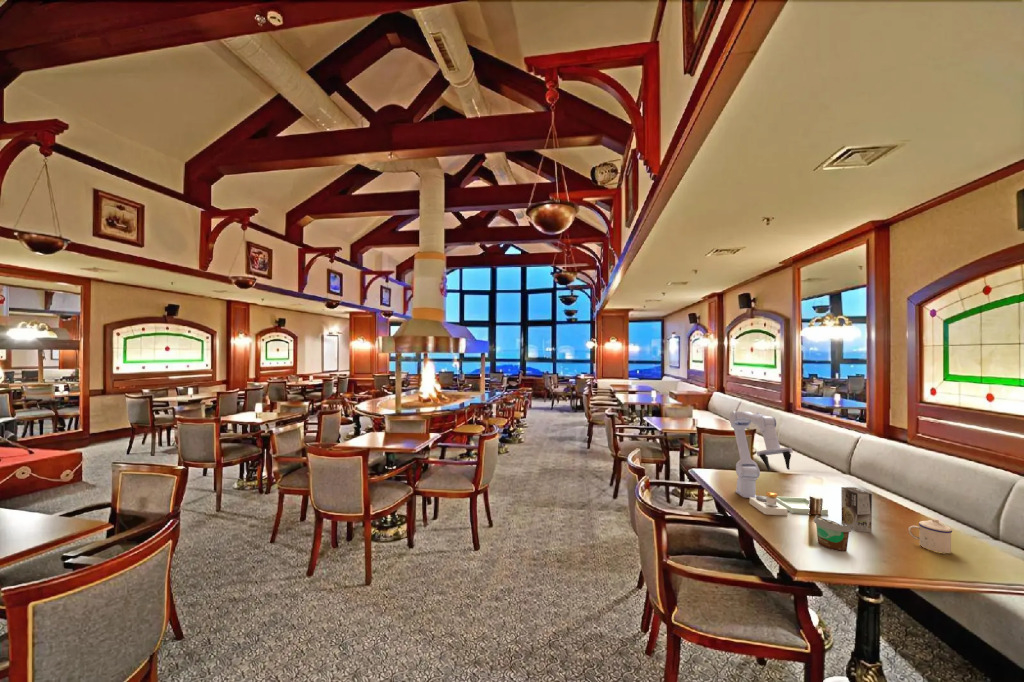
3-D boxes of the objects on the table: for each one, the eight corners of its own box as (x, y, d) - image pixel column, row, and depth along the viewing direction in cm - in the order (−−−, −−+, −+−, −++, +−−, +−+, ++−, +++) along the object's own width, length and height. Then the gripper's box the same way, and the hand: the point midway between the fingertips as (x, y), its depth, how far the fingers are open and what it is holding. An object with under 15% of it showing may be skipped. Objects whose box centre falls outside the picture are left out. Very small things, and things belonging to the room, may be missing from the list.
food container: (806, 541, 165) (806, 515, 165) (816, 538, 167) (816, 513, 167) (840, 555, 153) (840, 528, 154) (851, 553, 156) (851, 526, 156)
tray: (772, 501, 210) (772, 496, 210) (805, 502, 209) (805, 497, 209) (792, 513, 194) (792, 508, 194) (827, 515, 193) (827, 509, 193)
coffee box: (872, 532, 175) (872, 494, 176) (857, 531, 175) (857, 493, 176) (855, 523, 184) (855, 486, 185) (840, 522, 184) (840, 486, 185)
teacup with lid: (950, 549, 161) (950, 519, 162) (953, 557, 155) (953, 526, 155) (908, 539, 169) (908, 510, 170) (908, 546, 163) (909, 516, 163)
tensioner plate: (749, 503, 206) (749, 495, 206) (770, 504, 205) (770, 496, 205) (765, 514, 192) (765, 505, 192) (787, 515, 191) (787, 506, 191)
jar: (763, 509, 198) (763, 491, 198) (773, 510, 198) (773, 492, 198) (769, 513, 193) (769, 495, 193) (779, 513, 193) (779, 495, 193)
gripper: (752, 441, 199) (758, 469, 192) (786, 436, 190) (794, 466, 183) (756, 444, 203) (763, 472, 197) (790, 440, 195) (798, 469, 188)
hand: (778, 470), depth 190 cm, fingers open, 7 cm apart
